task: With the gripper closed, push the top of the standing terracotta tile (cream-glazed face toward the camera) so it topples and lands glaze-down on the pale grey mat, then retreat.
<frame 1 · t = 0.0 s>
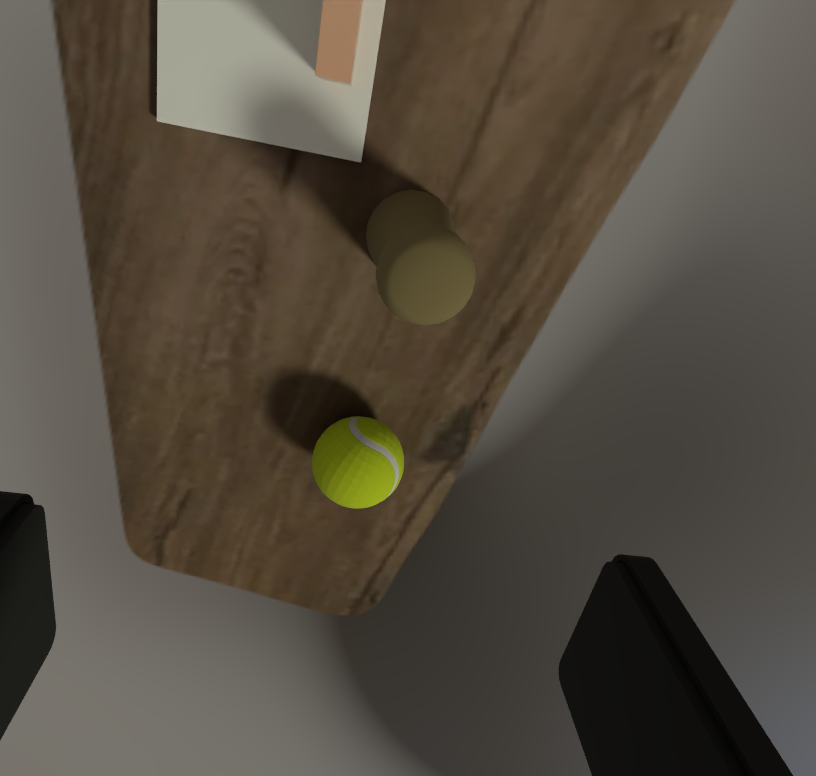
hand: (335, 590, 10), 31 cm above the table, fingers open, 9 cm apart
tile: (348, 2, 31), point 1 cm above the table, touching mat
cork: (410, 236, 38), on the table
tennis ball: (358, 436, 45), on the table
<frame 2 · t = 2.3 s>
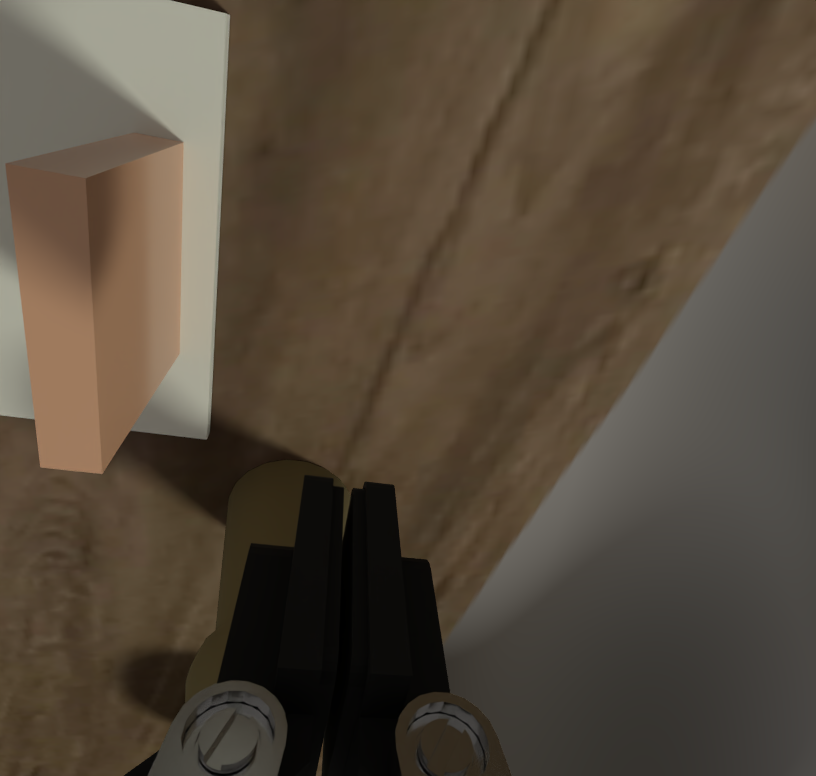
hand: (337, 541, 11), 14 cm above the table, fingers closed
tile: (158, 253, 21), point 1 cm above the table, touching mat
mat: (49, 229, 21), on the table
cork: (291, 507, 28), on the table
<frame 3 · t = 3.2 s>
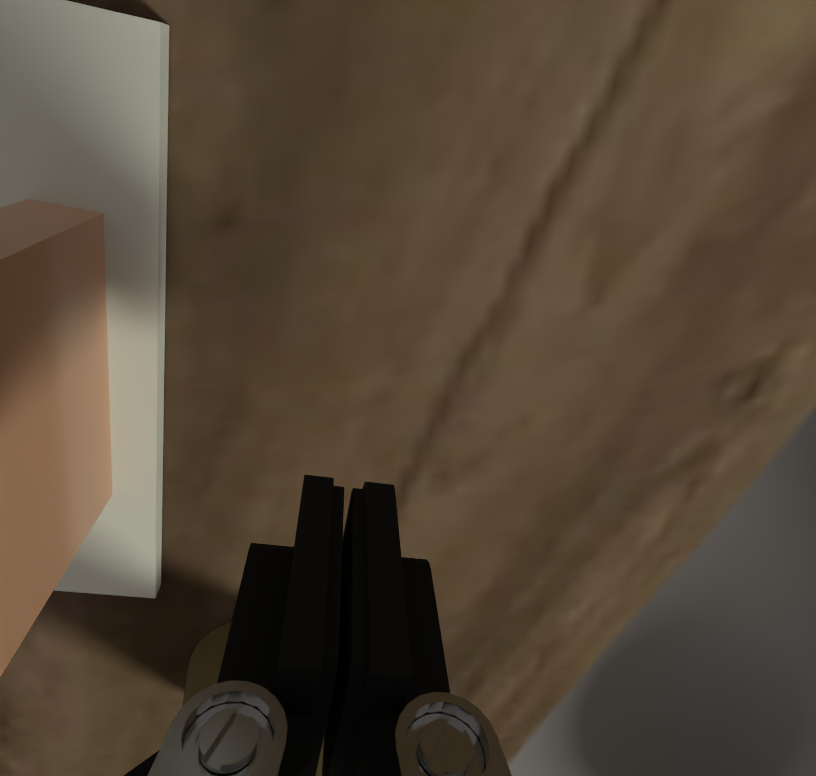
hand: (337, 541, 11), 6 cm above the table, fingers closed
tile: (75, 365, 15), point 1 cm above the table, touching mat
cork: (273, 667, 21), on the table
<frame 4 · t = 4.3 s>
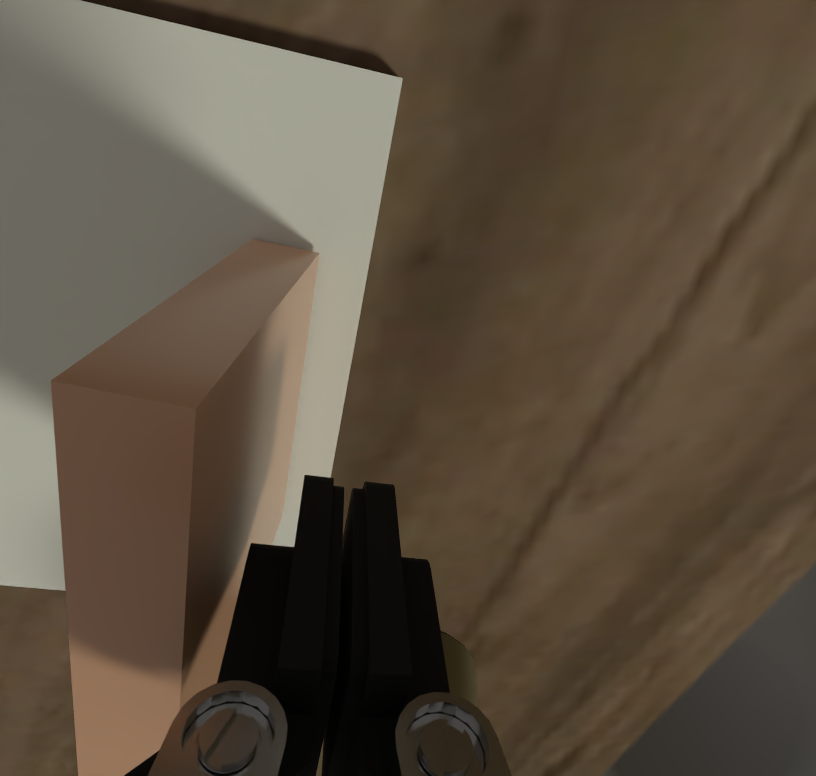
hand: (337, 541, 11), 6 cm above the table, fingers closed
tile: (269, 393, 15), point 1 cm above the table, tilted 7°, touching mat
mat: (120, 359, 15), on the table
cork: (398, 676, 22), on the table
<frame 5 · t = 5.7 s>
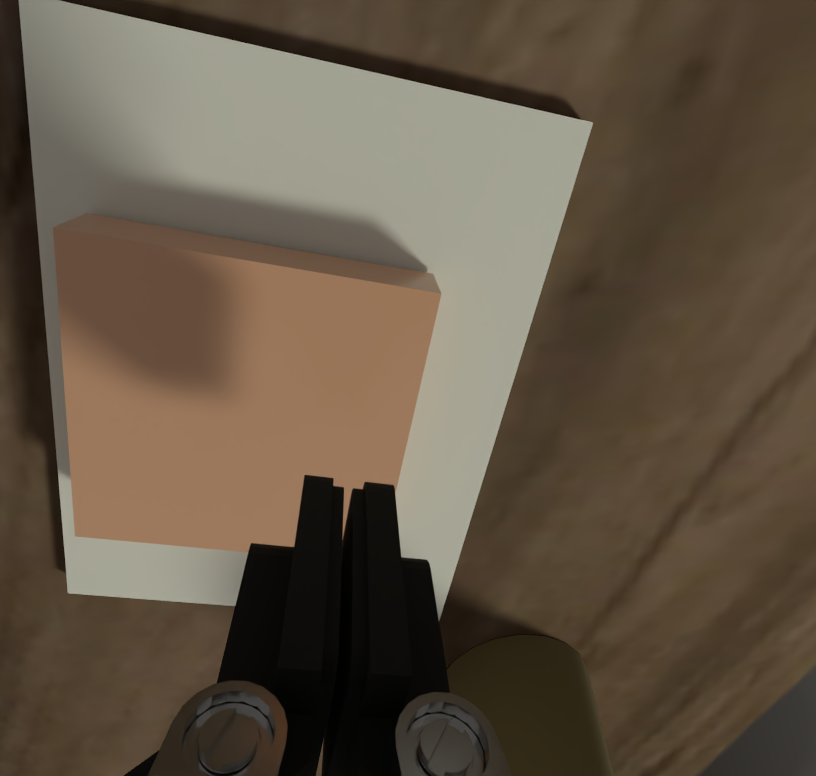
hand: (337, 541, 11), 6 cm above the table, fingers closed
tile: (404, 428, 15), point 2 cm above the table, tilted 90°, touching mat
mat: (290, 385, 16), on the table
cork: (511, 683, 23), on the table
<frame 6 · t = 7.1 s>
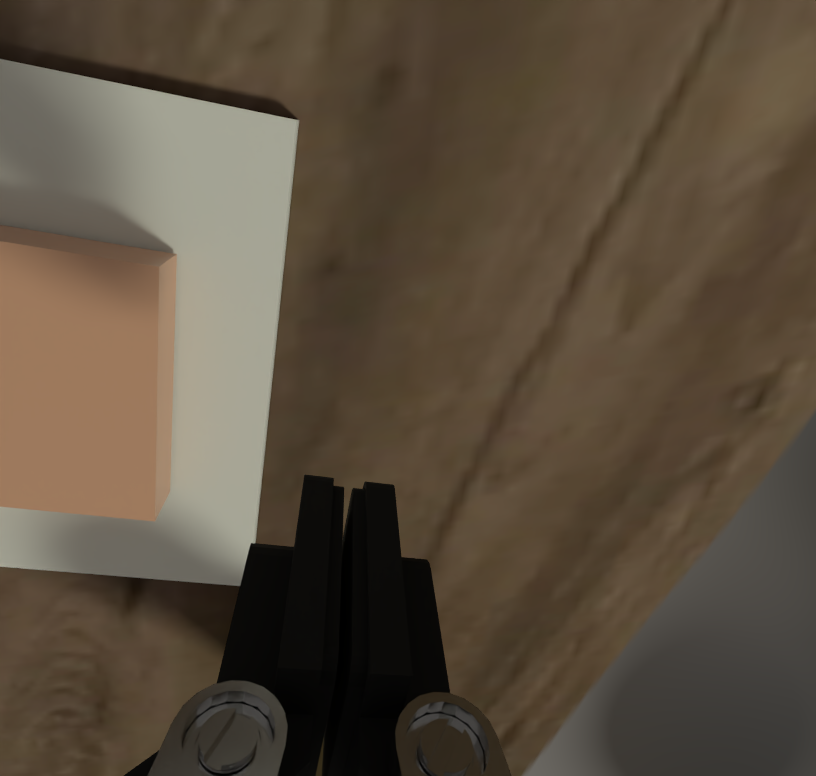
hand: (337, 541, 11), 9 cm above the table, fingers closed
tile: (165, 394, 17), point 2 cm above the table, tilted 90°, touching mat
mat: (75, 359, 18), on the table
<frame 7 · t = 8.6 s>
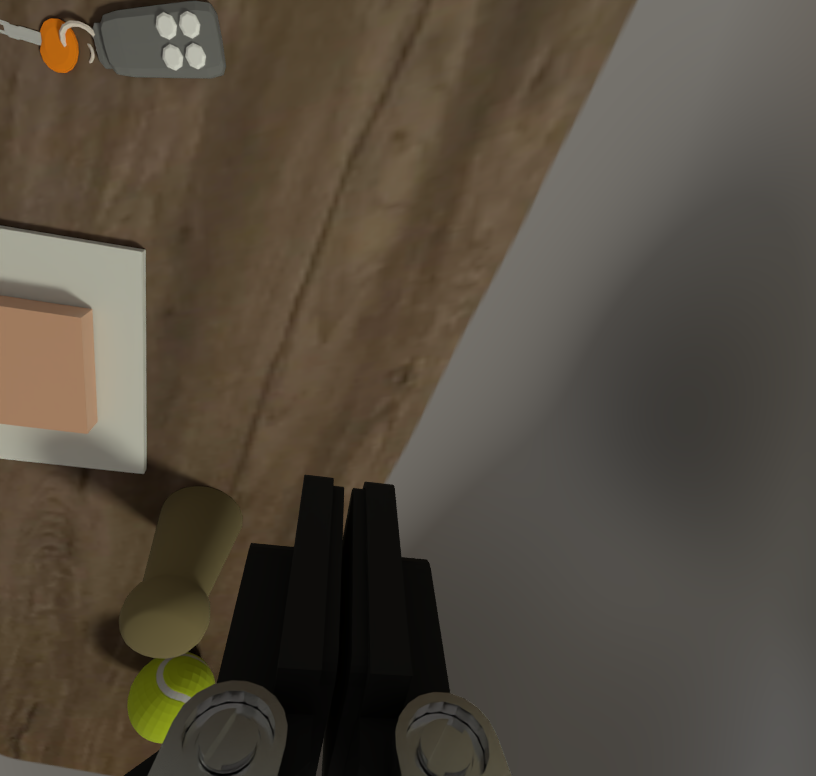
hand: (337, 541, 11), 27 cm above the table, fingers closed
tile: (89, 373, 36), point 2 cm above the table, tilted 90°, touching mat
key chain: (100, 45, 30), on the table
mat: (48, 356, 37), on the table
cork: (202, 516, 44), on the table
tennis ball: (184, 658, 50), on the table
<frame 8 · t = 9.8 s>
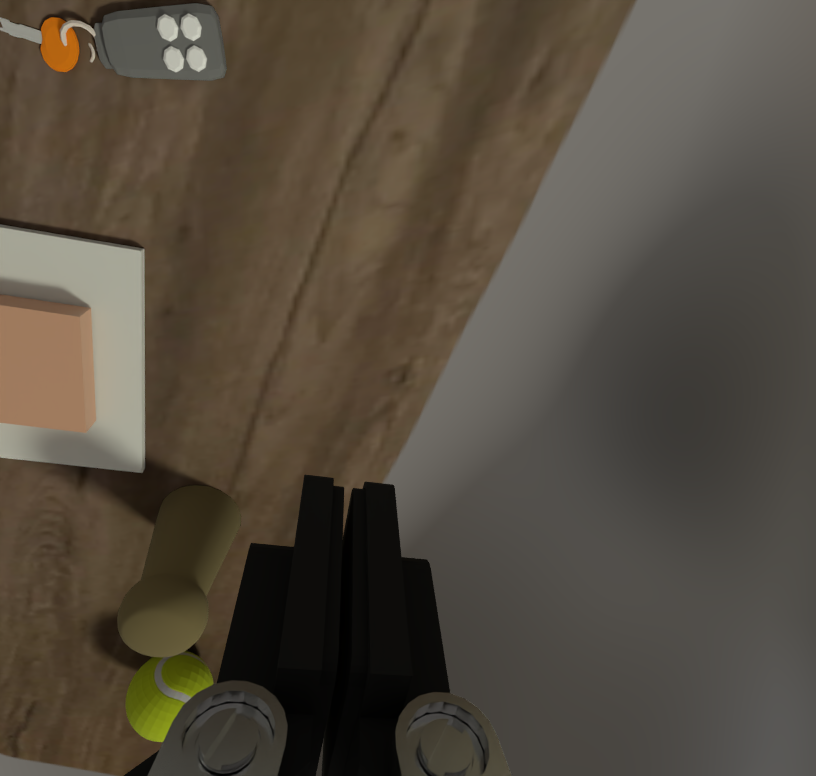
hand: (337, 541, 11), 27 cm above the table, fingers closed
tile: (88, 372, 36), point 2 cm above the table, tilted 90°, touching mat
key chain: (100, 45, 30), on the table
mat: (46, 354, 37), on the table
cork: (201, 515, 44), on the table
tennis ball: (182, 657, 50), on the table
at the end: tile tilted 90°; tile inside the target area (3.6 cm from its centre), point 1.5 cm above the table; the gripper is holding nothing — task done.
